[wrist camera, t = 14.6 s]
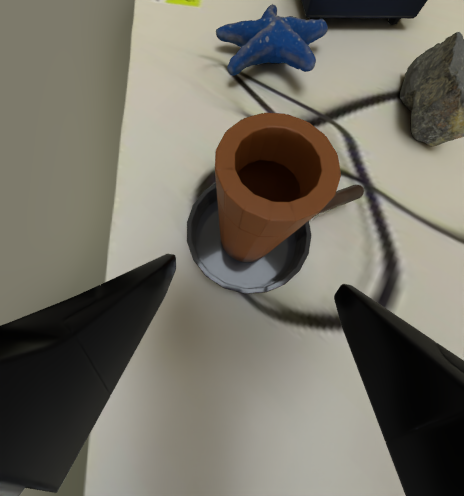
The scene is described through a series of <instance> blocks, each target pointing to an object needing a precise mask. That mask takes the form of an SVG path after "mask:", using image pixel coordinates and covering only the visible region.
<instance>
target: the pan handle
mask: <svg viewBox="0 0 464 496" xmlns="http://www.w3.org/2000/svg"><path fill="white" fill-rule="evenodd" d="M363 193H364V188H363V187H362V186H361V185H352V186H350V187H347V188H344V189H341V190H338V191H336V194H335V196H334V197H333V198H332V200H331V201H330V202H329V203H328V204H327V205H326V206H325V207H324V208H323V209H322V210H321V211H320V212H319V213H321V212H324V211H327V210H329V209H332V208H335V207H337V206H340V205H343V204H346V203H348V202H351V201H354V200H356V199H359V198H360V197H361V196H362V195H363ZM319 213H318V214H319Z"/></svg>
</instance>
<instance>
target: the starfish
mask: <svg viewBox="0 0 464 496" xmlns="http://www.w3.org/2000/svg"><path fill="white" fill-rule="evenodd" d="M276 15H277V8H276V6H275V5H270V6H269V7H268V8H267V10H266V11H265V12H264V14H263V16H262V18H261V19H259V20H256V21H252V20H250V21H241V22H237V23H233V24H227V25H224V26H222V27H220V28H218V29H217V30H216V35H217V37H218V38H219V39H220V40H221V41H224V42H230V43H234V44H236V45H237V46H239V47H241V48H240V50H239V51H238V52H237V53H236V55H235V56H233V57H232V58H231V59H230V62H229V65H228V72H229V74H230V75H236V74H239V73H240V72H241V71H242V70H243V69H244V68H246V67H249V66H252V65H258V64H262V63H268V62H269V63H278V64H279V63H287V64H288V65H290V66H292V67H294V68H296V69H301V70H302V71H304V72H307V71H311V70H312V69H313V68H314V66H315V62H316V59H315V56H314V54H313V53H312V51H311V50H310V47H309V46H308V45H309V44H310V43H312V42H314V41H315V40H317V39H319V38H321V37H322V36H324V35H325V34H326V32H327V29H328V27H327V24H326V22H325V21H324V20H323V19H319V20H313V19H310V20H305V19H299V18H296V17H293V16H289V17H279V16H276Z"/></svg>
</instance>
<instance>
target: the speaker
mask: <svg viewBox="0 0 464 496" xmlns="http://www.w3.org/2000/svg"><path fill="white" fill-rule="evenodd" d="M301 1H302V4H303V7H304V11H305V14H306V17H307V18H310V19H313V20H319V19H320V18H389V20H388V23H389V24H391V25H395V24H397V23H398V21H399V20H400V19H401V18H414V17H416V16H417V14H418V13H419V12H420V10H421V9H422V7H423V6H424V4H425V3H426V2H427V0H301ZM310 19H309V20H310Z"/></svg>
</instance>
